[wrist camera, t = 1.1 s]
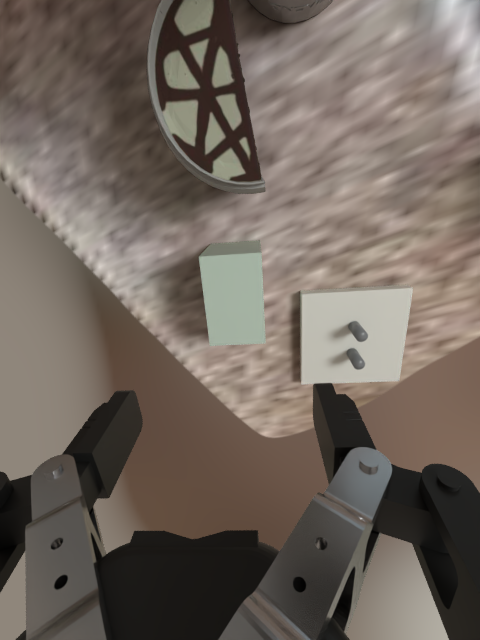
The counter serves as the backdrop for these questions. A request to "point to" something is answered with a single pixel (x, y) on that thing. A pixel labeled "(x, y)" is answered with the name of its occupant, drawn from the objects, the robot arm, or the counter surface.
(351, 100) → the counter surface
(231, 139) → the food container
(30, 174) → the counter surface
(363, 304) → the stub plate
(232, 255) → the block
